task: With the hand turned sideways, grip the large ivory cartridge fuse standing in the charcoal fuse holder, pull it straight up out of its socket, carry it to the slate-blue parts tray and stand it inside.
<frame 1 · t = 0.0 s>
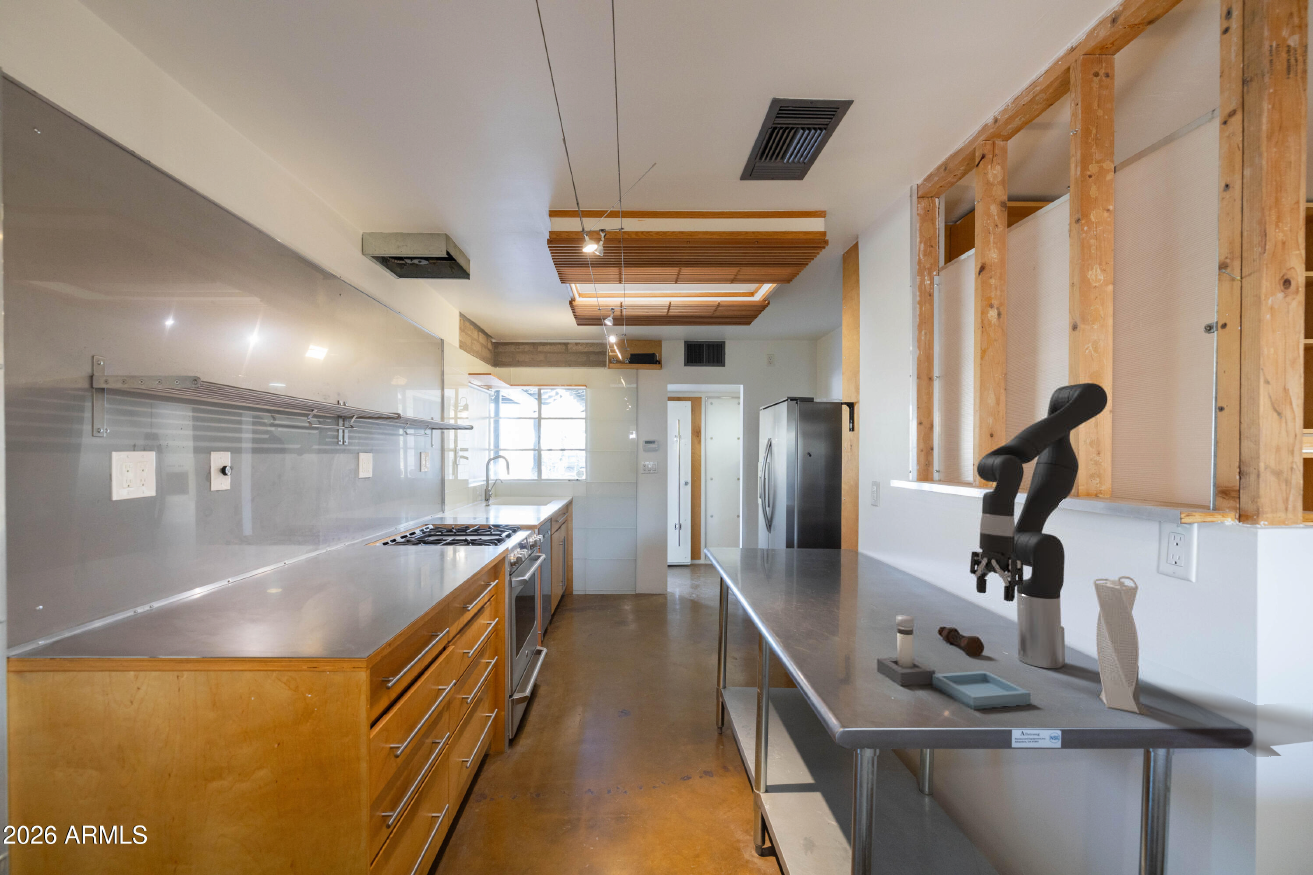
hand: (994, 596, 136), 17 cm above the table, tool pointing down, fingers open, 8 cm apart
skyscraper: (1121, 707, 113), on the table
fuse holder: (905, 676, 127), on the table
fuse: (905, 647, 127), in the fuse holder
parts tray: (979, 694, 118), on the table
bolt: (958, 648, 149), on the table
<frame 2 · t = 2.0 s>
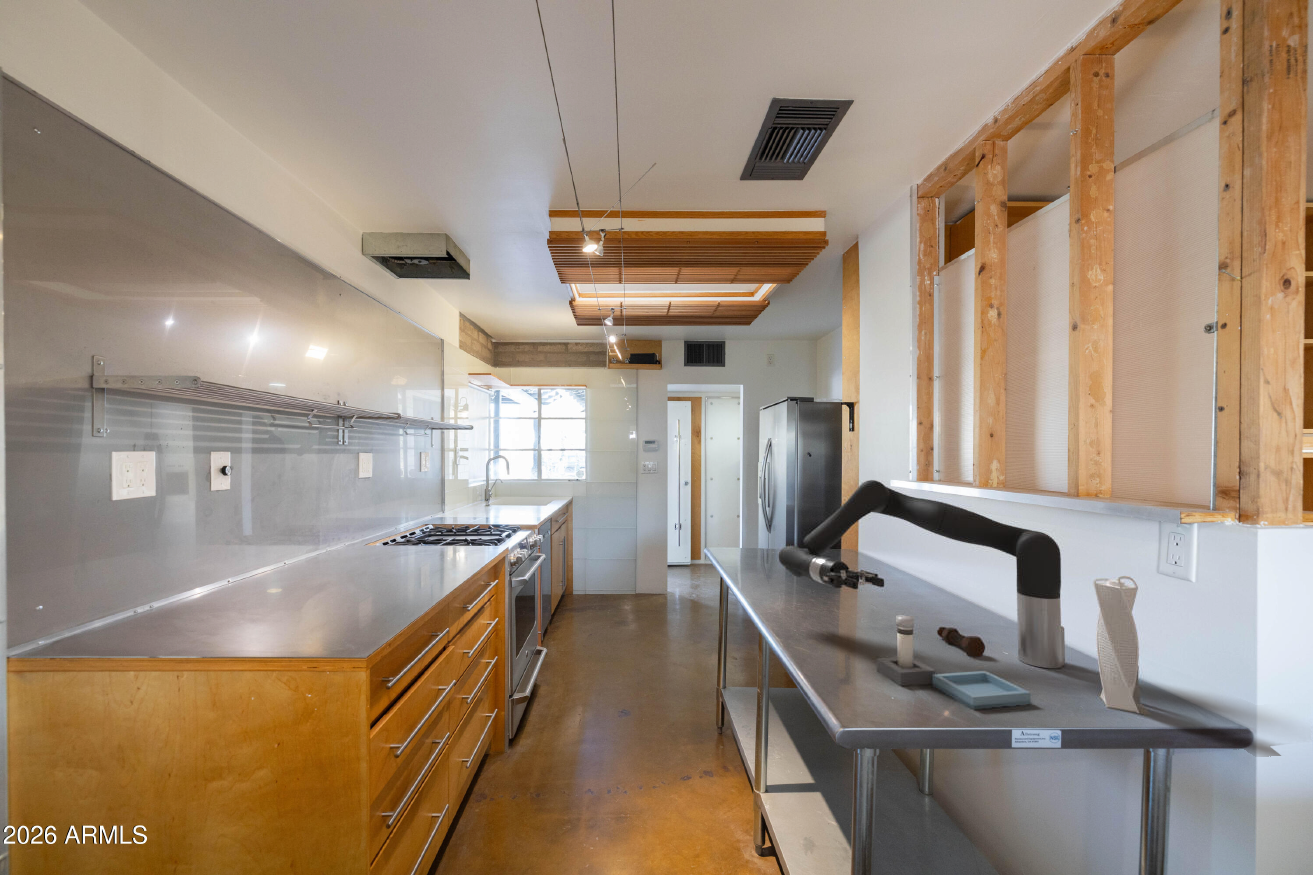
hand: (870, 584, 138), 19 cm above the table, tool horizontal, fingers open, 8 cm apart
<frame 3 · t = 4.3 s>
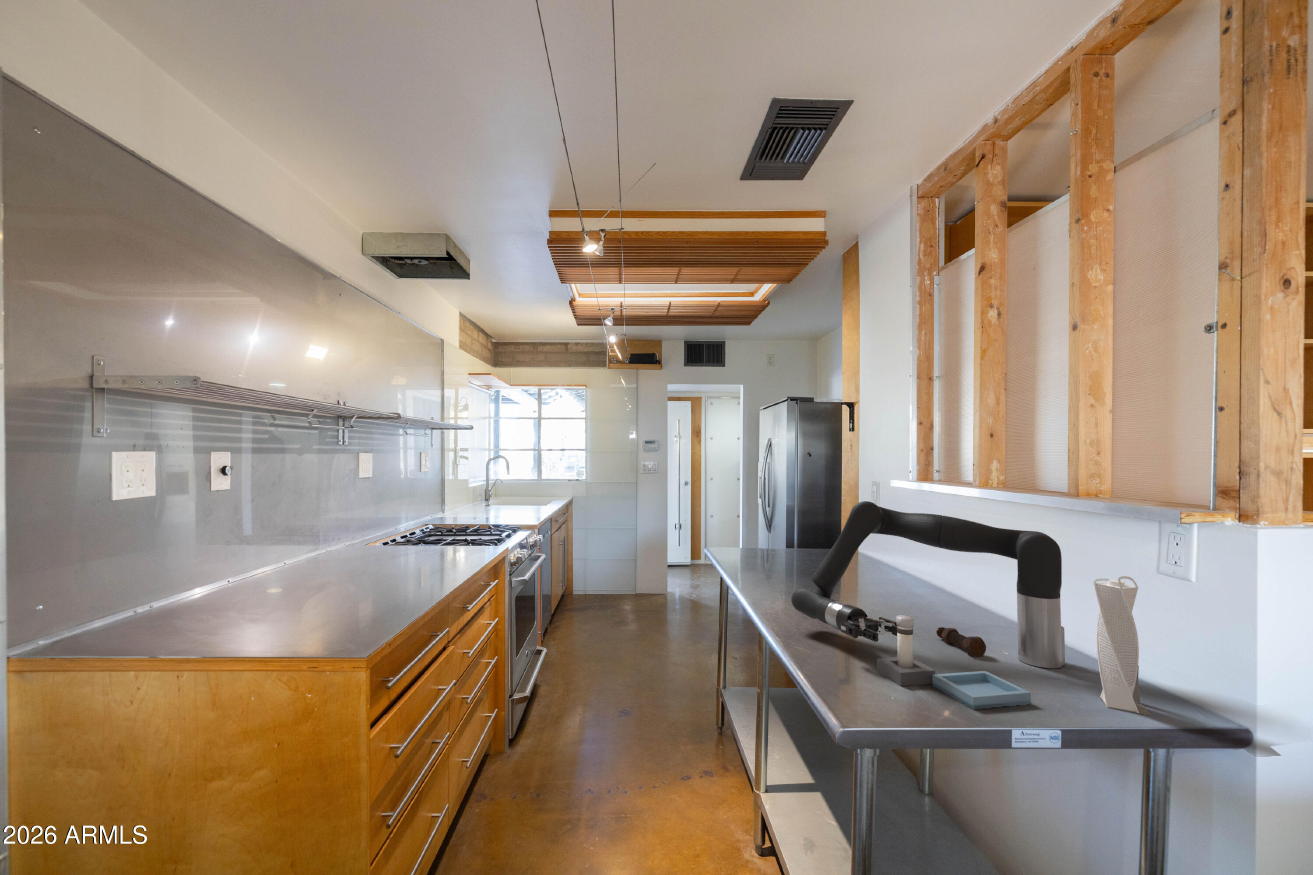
hand: (891, 635, 132), 8 cm above the table, tool horizontal, fingers open, 8 cm apart
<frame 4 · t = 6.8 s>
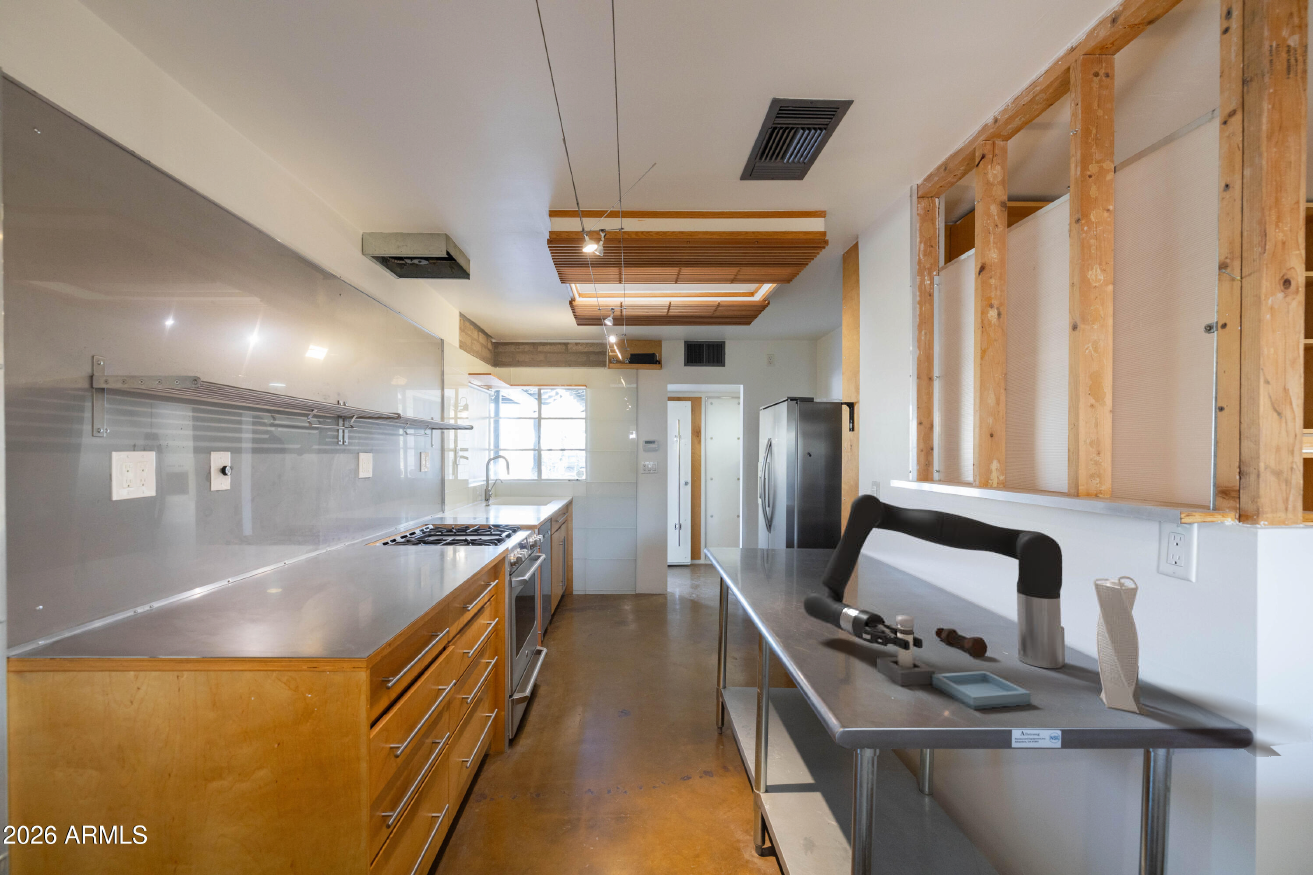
hand: (914, 644, 125), 8 cm above the table, tool horizontal, fingers closed on fuse, 3 cm apart
fuse: (905, 647, 127), in the fuse holder, touching gripper
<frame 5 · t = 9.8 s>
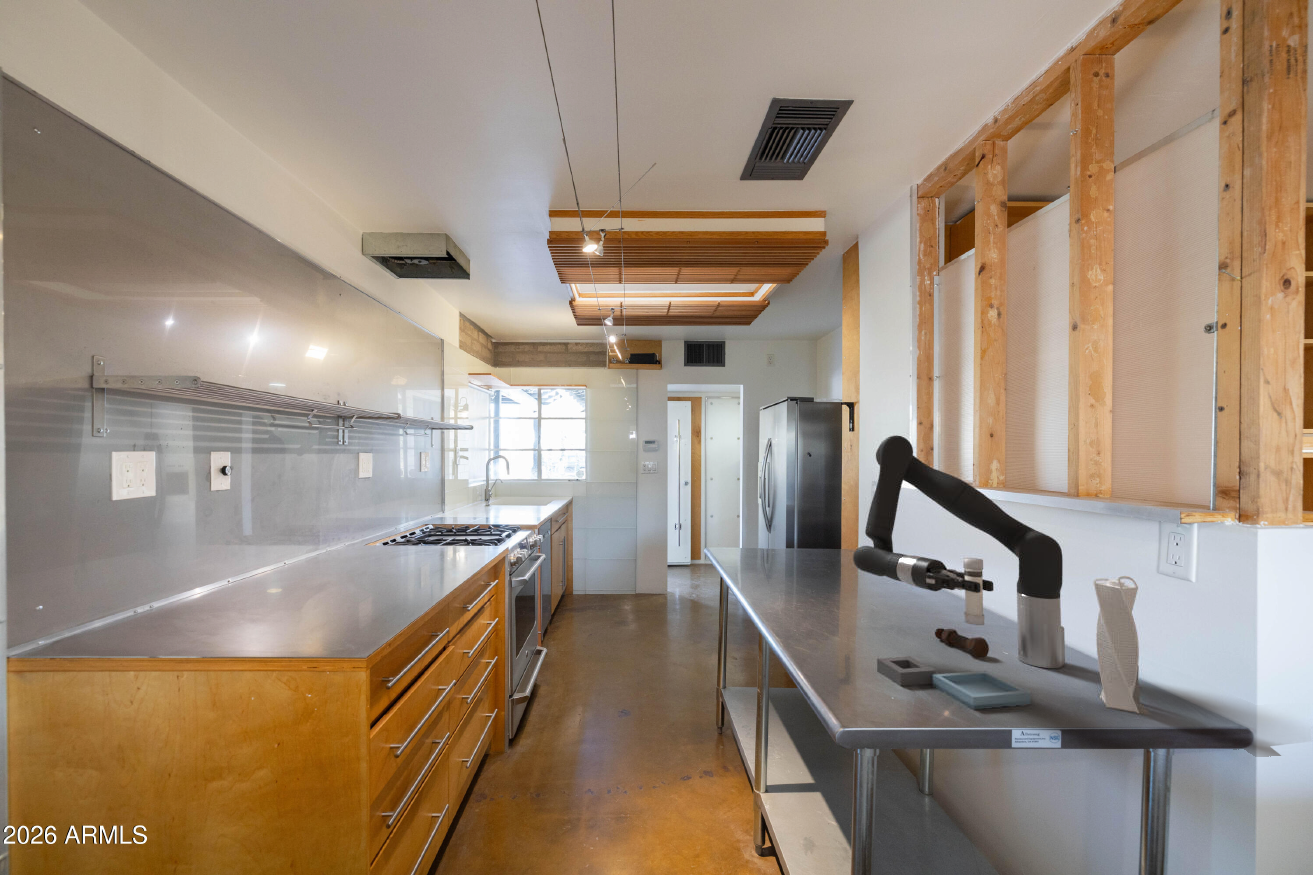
hand: (985, 587, 117), 24 cm above the table, tool horizontal, fingers closed on fuse, 3 cm apart
fuse: (973, 590, 119), point 22 cm above the table, touching gripper
when the fingers open (11 cm above the table, at t = 13.2 s): fuse drops 1 cm, resting on parts tray.
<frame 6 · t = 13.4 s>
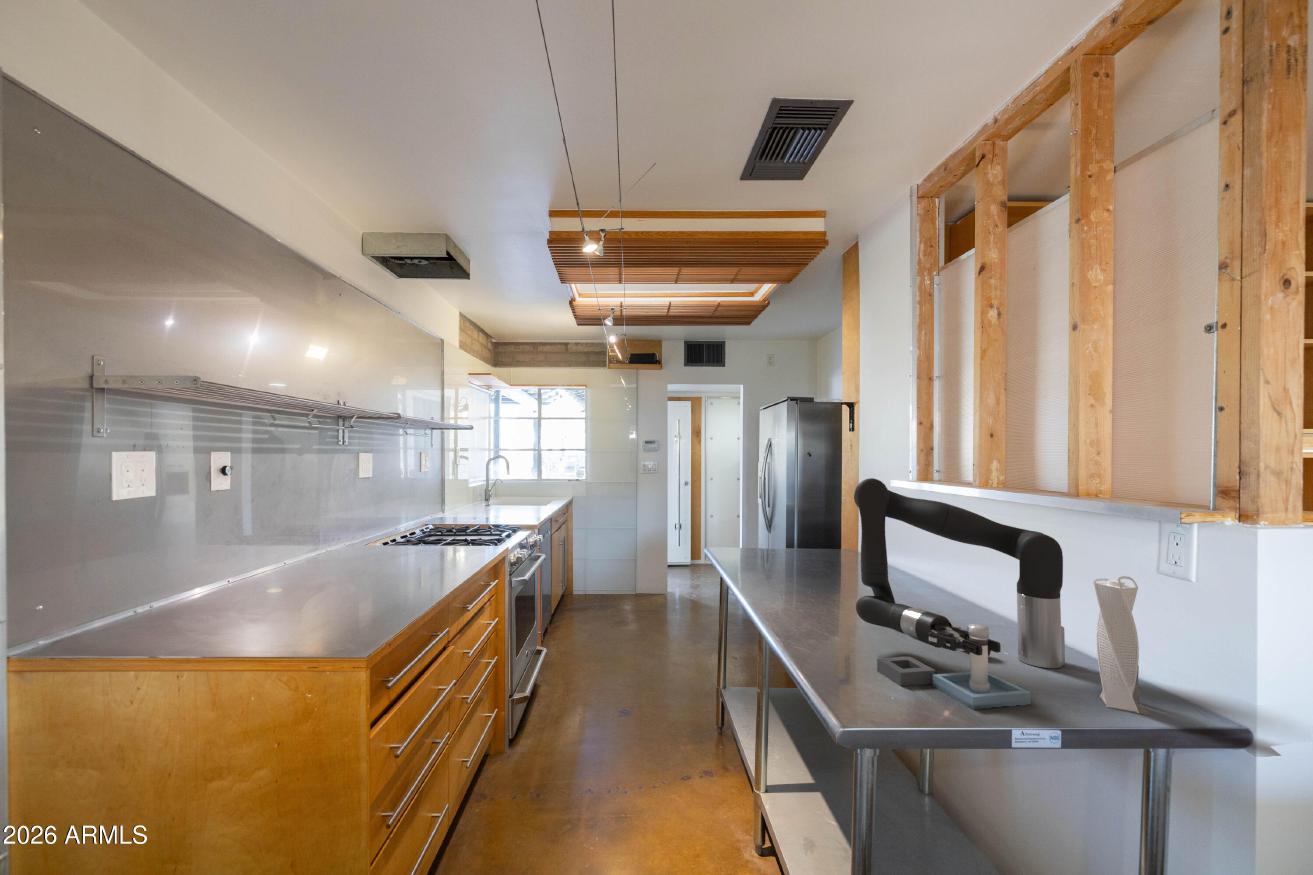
hand: (990, 649, 116), 11 cm above the table, tool horizontal, fingers open, 5 cm apart
fuse: (978, 658, 118), in the parts tray, point 8 cm above the table
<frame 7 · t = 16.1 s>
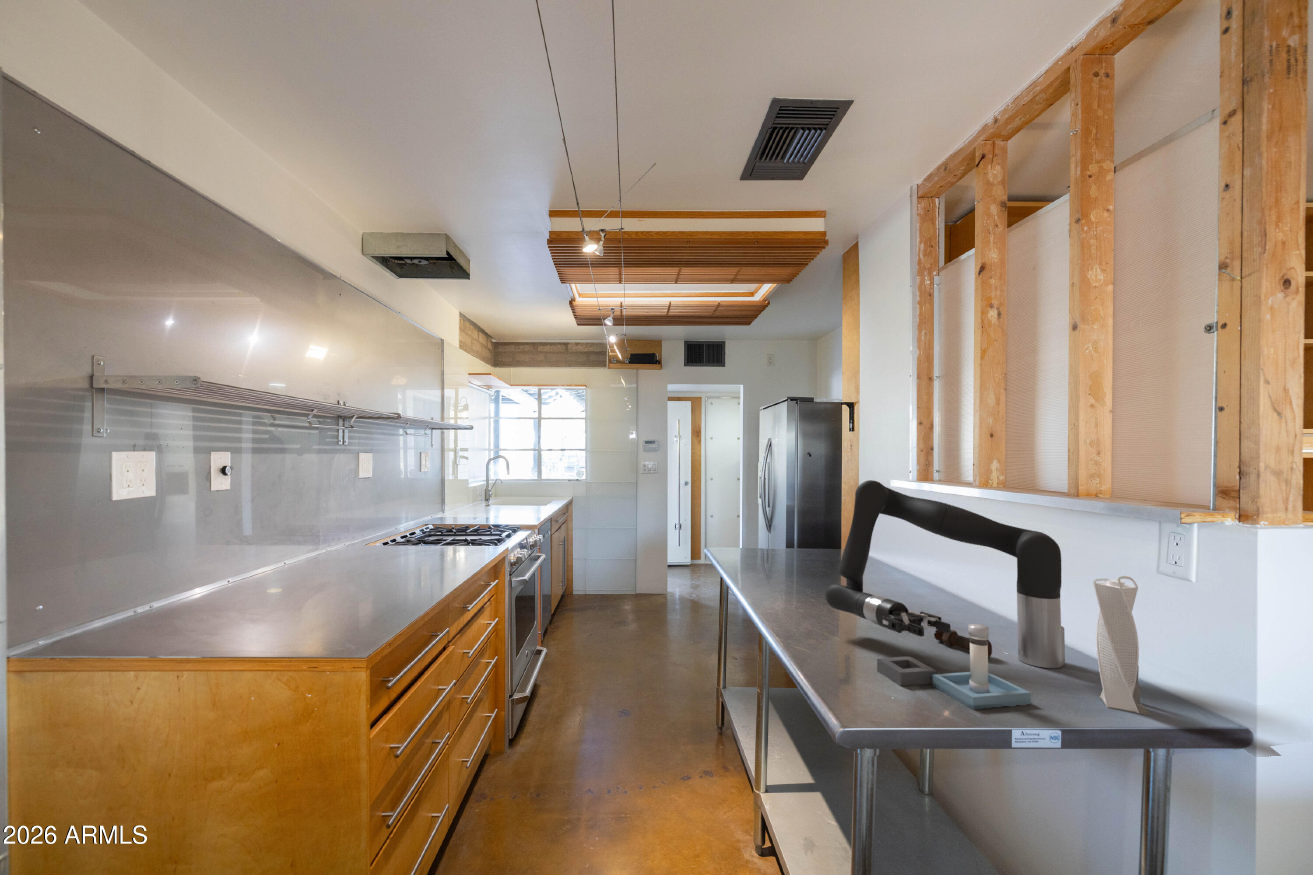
hand: (936, 630, 128), 11 cm above the table, tool horizontal, fingers open, 8 cm apart
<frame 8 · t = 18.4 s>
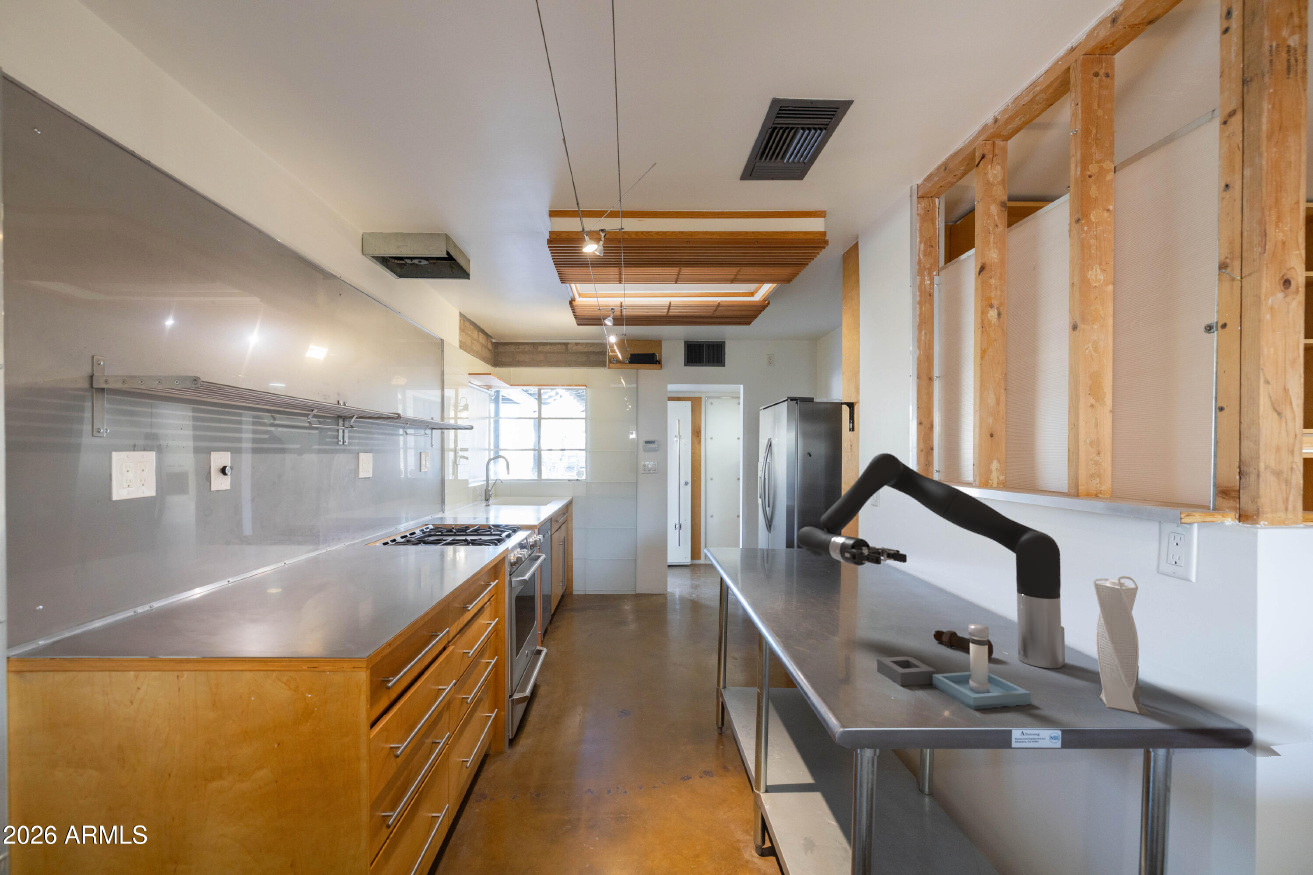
hand: (893, 559, 138), 26 cm above the table, tool horizontal, fingers open, 8 cm apart
at the end: fuse inside the target area on the parts tray (0.1 cm from its centre), point 7.8 cm above the parts tray's base; fuse tilted 0°; the gripper is holding nothing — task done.
